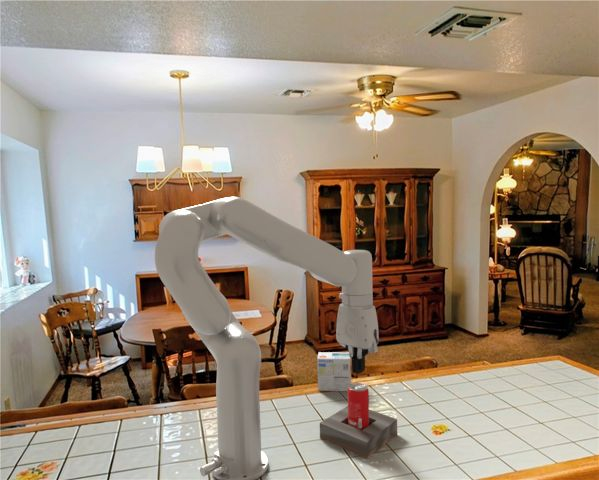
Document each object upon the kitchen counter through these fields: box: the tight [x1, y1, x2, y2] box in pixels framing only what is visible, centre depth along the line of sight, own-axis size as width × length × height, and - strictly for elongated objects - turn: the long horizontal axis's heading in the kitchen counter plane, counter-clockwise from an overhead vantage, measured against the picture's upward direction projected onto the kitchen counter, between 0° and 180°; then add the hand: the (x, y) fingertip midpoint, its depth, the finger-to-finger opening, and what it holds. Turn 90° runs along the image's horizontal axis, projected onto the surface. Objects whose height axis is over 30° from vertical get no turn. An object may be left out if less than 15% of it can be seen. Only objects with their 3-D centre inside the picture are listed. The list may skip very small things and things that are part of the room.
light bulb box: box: [316, 351, 352, 392], centre depth 139 cm, size 11×7×11 cm, turn 84°
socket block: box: [319, 405, 398, 459], centre depth 109 cm, size 14×14×4 cm
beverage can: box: [347, 382, 370, 430], centre depth 108 cm, size 5×5×12 cm
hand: (358, 371), depth 108 cm, fingers closed
